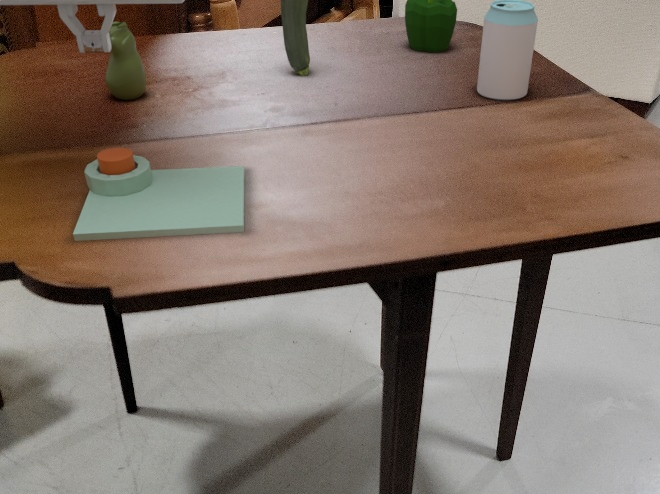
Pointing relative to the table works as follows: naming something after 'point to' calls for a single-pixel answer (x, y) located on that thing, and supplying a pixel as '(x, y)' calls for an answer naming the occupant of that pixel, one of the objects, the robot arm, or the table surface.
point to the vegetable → (296, 34)
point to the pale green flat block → (161, 202)
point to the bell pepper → (430, 24)
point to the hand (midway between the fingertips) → (96, 51)
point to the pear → (124, 64)
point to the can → (507, 49)
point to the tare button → (116, 161)
